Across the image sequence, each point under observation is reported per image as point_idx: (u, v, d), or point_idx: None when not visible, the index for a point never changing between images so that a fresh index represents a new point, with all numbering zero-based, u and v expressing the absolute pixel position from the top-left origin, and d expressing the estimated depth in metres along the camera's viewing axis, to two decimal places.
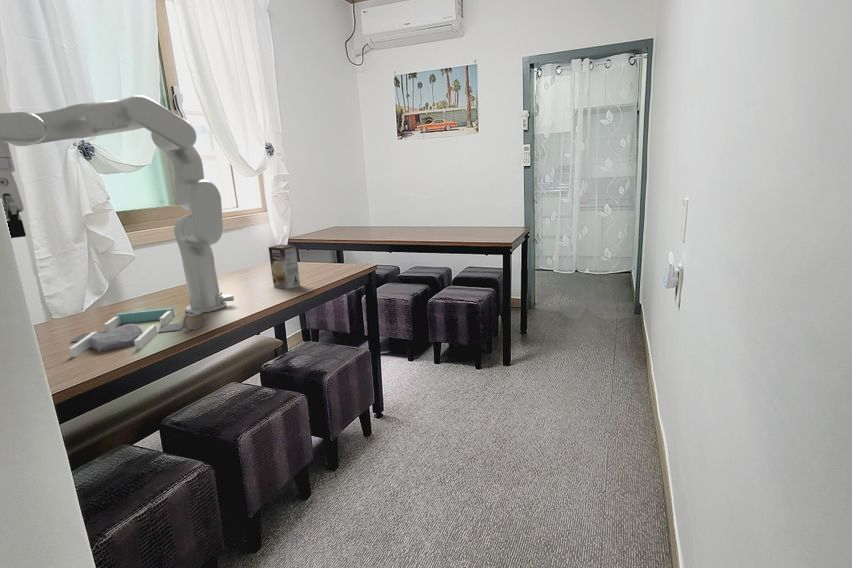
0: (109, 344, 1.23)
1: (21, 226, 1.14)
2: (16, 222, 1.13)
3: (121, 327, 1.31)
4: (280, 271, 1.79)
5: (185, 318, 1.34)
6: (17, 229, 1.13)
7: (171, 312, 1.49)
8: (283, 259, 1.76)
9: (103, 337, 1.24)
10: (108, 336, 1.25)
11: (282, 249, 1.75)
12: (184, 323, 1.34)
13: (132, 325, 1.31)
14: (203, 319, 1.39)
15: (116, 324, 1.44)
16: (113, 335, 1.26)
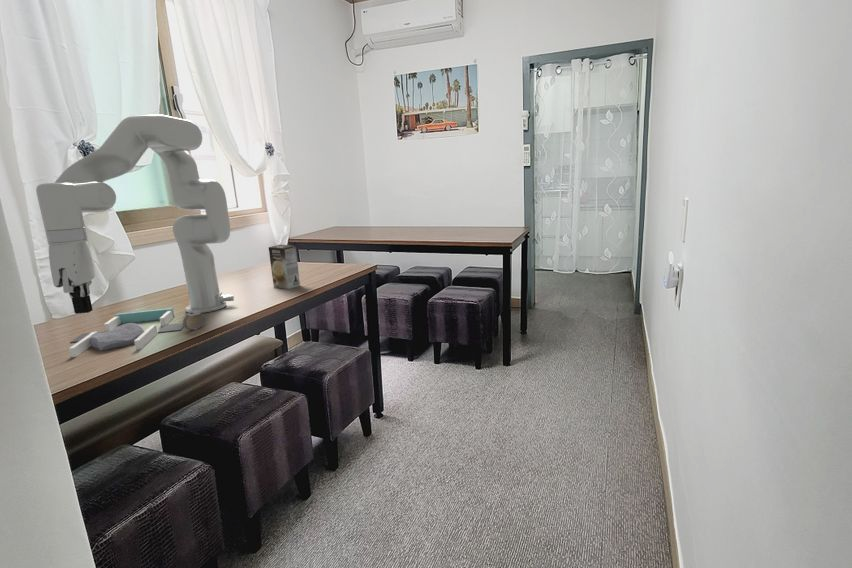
0: (111, 343, 1.24)
1: None
2: None
3: (121, 326, 1.31)
4: (280, 271, 1.79)
5: (185, 318, 1.34)
6: None
7: (171, 312, 1.49)
8: (283, 259, 1.76)
9: (104, 336, 1.25)
10: (109, 335, 1.26)
11: (282, 249, 1.75)
12: (184, 323, 1.34)
13: (133, 324, 1.32)
14: (203, 319, 1.39)
15: (116, 324, 1.44)
16: (114, 334, 1.27)
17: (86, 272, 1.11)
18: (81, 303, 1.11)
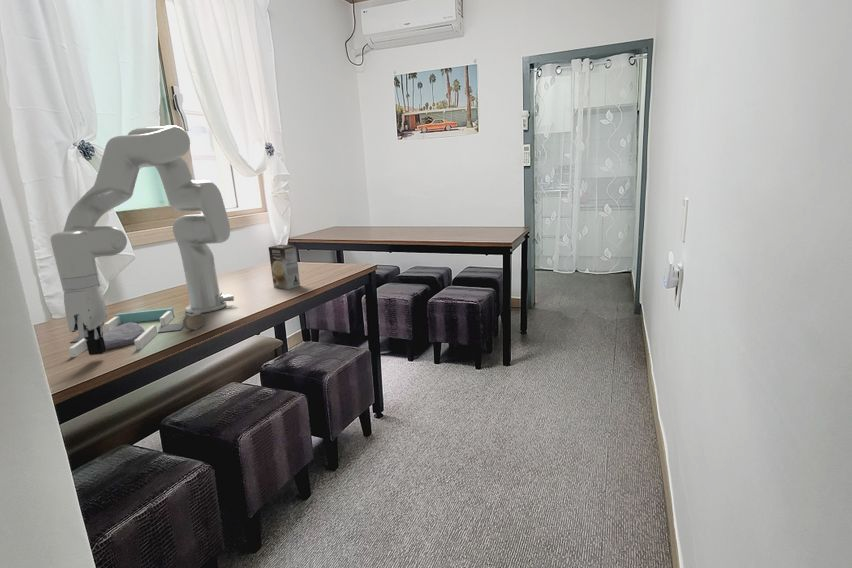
0: (111, 342, 1.24)
1: None
2: None
3: (122, 326, 1.32)
4: (280, 271, 1.79)
5: (185, 318, 1.34)
6: None
7: (171, 312, 1.49)
8: (283, 259, 1.76)
9: (105, 335, 1.26)
10: (110, 334, 1.26)
11: (282, 249, 1.75)
12: (184, 323, 1.34)
13: (133, 324, 1.32)
14: (203, 319, 1.39)
15: (116, 324, 1.44)
16: (115, 333, 1.27)
17: (99, 315, 1.15)
18: (95, 345, 1.15)
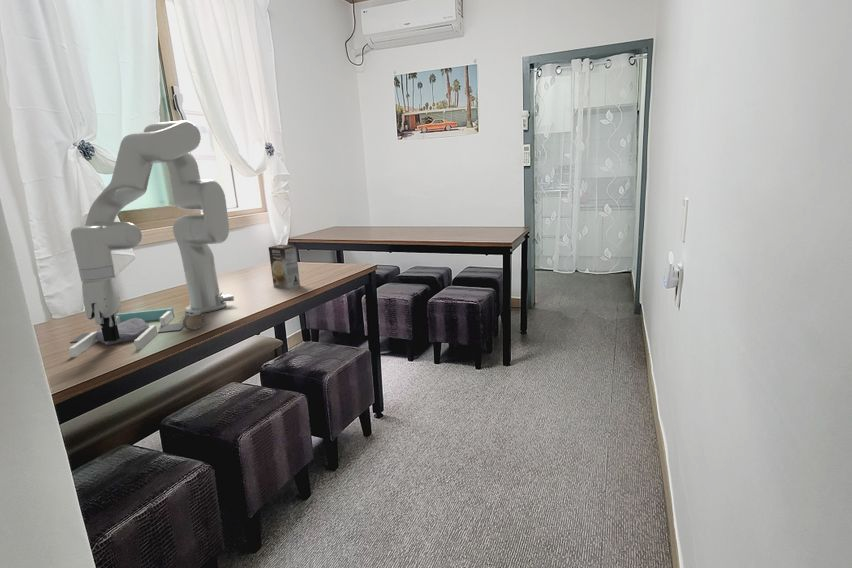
0: None
1: None
2: None
3: (127, 321, 1.35)
4: (280, 271, 1.79)
5: (185, 318, 1.34)
6: None
7: (171, 312, 1.49)
8: (283, 259, 1.76)
9: None
10: None
11: (282, 249, 1.75)
12: (184, 323, 1.34)
13: (138, 319, 1.36)
14: (203, 319, 1.39)
15: (116, 324, 1.44)
16: (120, 329, 1.31)
17: (114, 305, 1.24)
18: (110, 332, 1.24)
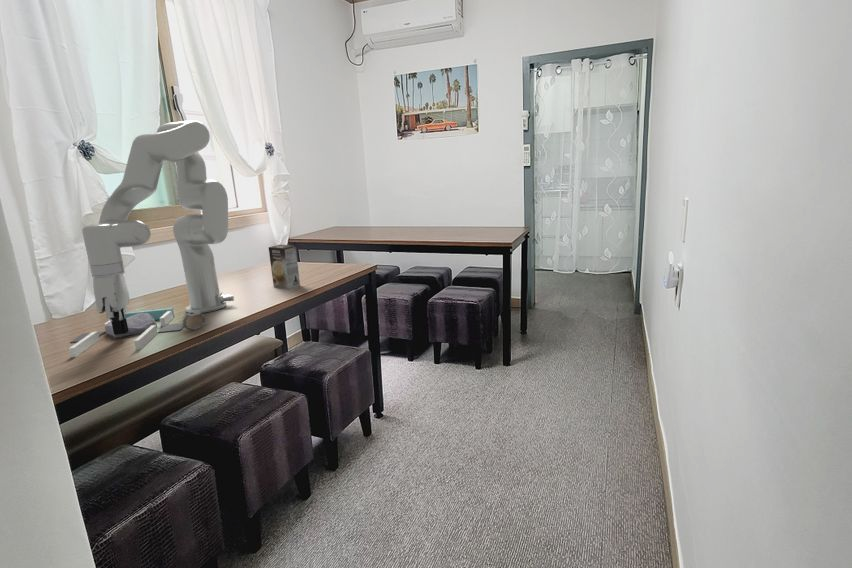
0: None
1: None
2: None
3: (135, 316, 1.41)
4: (280, 271, 1.79)
5: (185, 318, 1.34)
6: None
7: (171, 312, 1.49)
8: (283, 259, 1.76)
9: None
10: None
11: (282, 249, 1.75)
12: (184, 323, 1.34)
13: (145, 314, 1.41)
14: (203, 319, 1.39)
15: None
16: (127, 323, 1.36)
17: (123, 299, 1.30)
18: (119, 326, 1.29)
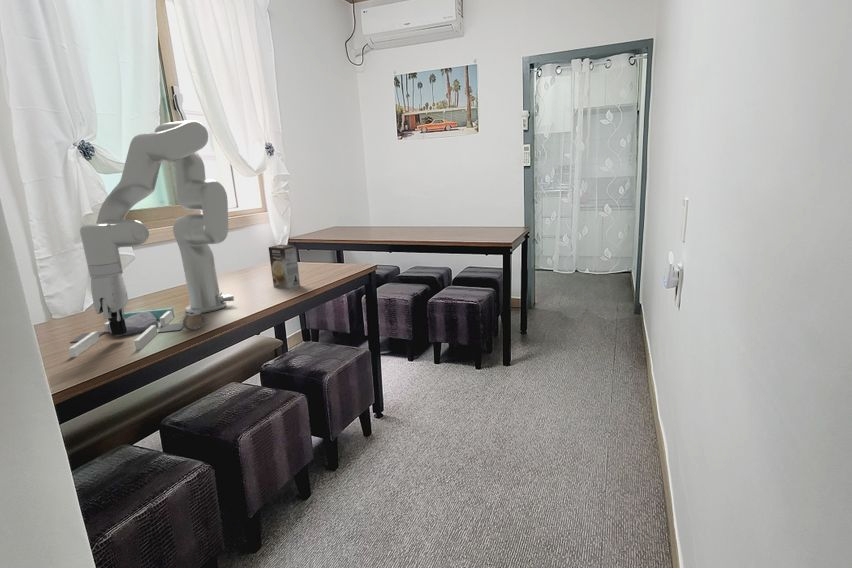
0: None
1: None
2: None
3: (137, 315, 1.42)
4: (280, 271, 1.79)
5: (185, 318, 1.34)
6: None
7: (171, 312, 1.49)
8: (283, 259, 1.76)
9: None
10: None
11: (282, 249, 1.75)
12: (184, 323, 1.34)
13: (147, 313, 1.42)
14: (203, 319, 1.39)
15: None
16: (129, 322, 1.37)
17: (121, 300, 1.28)
18: (117, 326, 1.28)
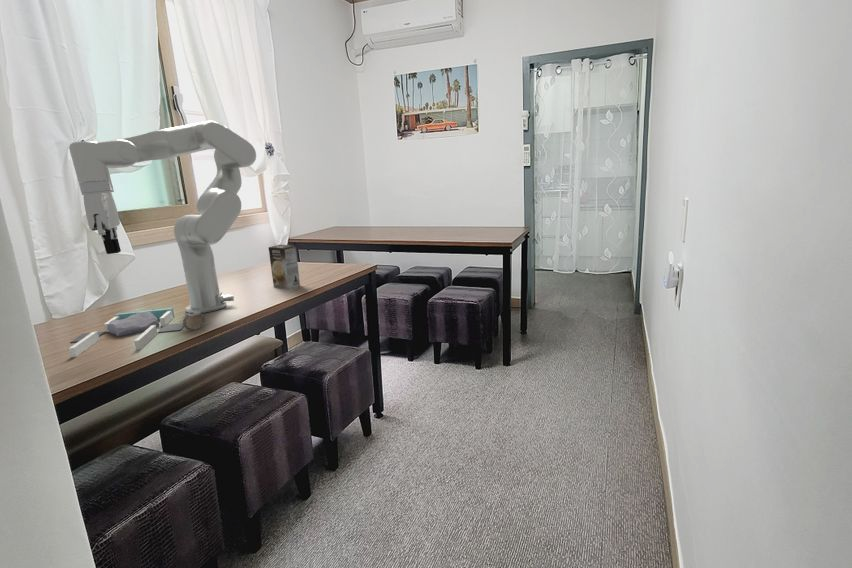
0: (127, 329, 1.35)
1: None
2: None
3: (137, 314, 1.42)
4: (280, 271, 1.79)
5: (185, 318, 1.34)
6: None
7: (171, 312, 1.49)
8: (283, 259, 1.76)
9: (121, 323, 1.36)
10: (125, 322, 1.37)
11: (282, 249, 1.75)
12: (184, 323, 1.34)
13: (147, 313, 1.43)
14: (203, 319, 1.39)
15: None
16: (130, 321, 1.38)
17: (114, 218, 1.32)
18: (112, 245, 1.32)
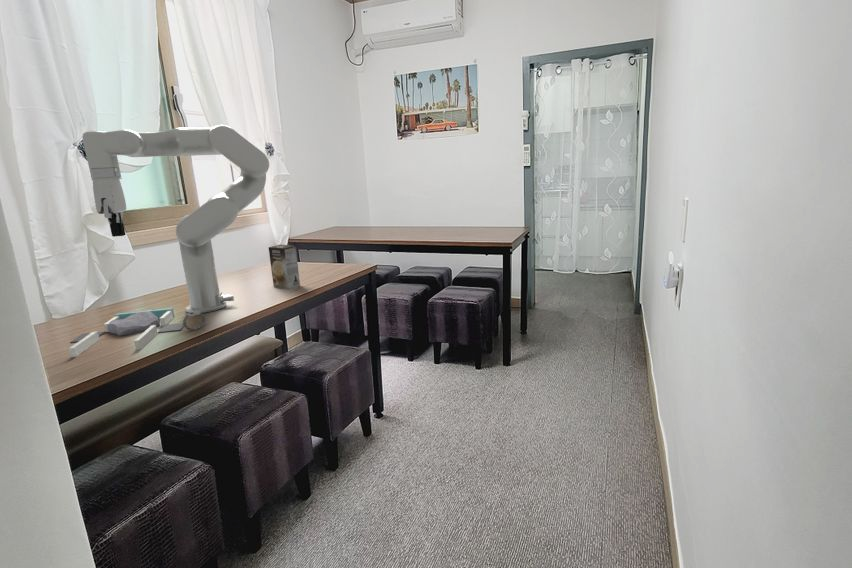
0: (129, 328, 1.35)
1: None
2: None
3: (137, 314, 1.43)
4: (280, 271, 1.79)
5: (185, 318, 1.34)
6: None
7: (171, 312, 1.49)
8: (283, 259, 1.76)
9: (122, 322, 1.37)
10: (127, 322, 1.37)
11: (282, 249, 1.75)
12: (184, 323, 1.34)
13: (147, 312, 1.43)
14: (203, 319, 1.39)
15: None
16: (131, 321, 1.38)
17: (120, 204, 1.42)
18: (117, 228, 1.42)
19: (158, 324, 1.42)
